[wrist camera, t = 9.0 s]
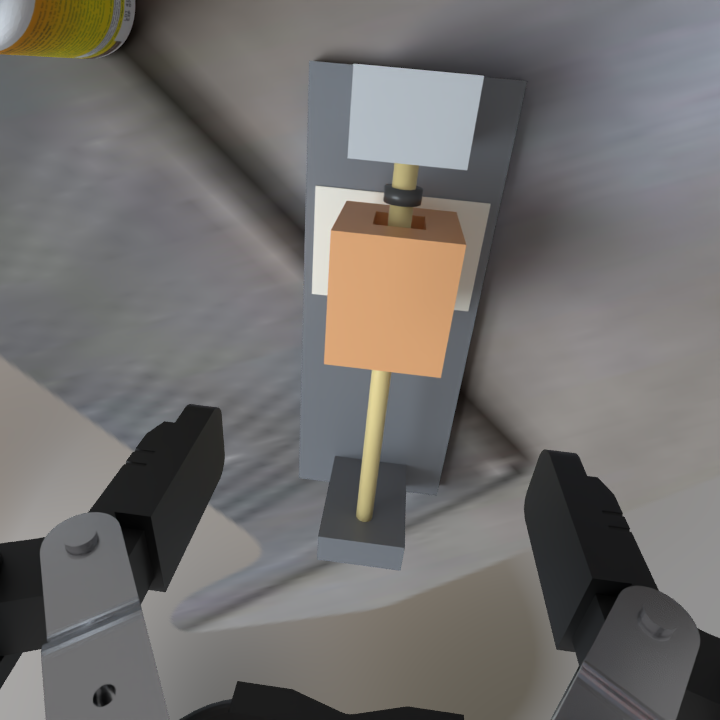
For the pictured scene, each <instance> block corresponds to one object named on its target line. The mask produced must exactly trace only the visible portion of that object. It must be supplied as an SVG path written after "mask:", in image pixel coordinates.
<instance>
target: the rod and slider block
mask: <svg viewBox="0 0 720 720" xmlns="http://www.w3.org/2000/svg"><path fill="white" fill-rule="evenodd" d="M526 85H527V81H522V80H511V79H500V78H489V77H484V76H481V75H471V74H460V73H449V72H439V71H428V70H417V69H406V68H396V67H385V66H374V65H363V64H353V65H350V64H339V63H329V62H318V61H309V93H308V133H307V173H306V214H305V254H304V294H303V334H302V374H301V415H300V455H299V478H304V479H311V480H319V481H327V482H329V487H328V492H327V497H326V501H325V506H324V511H323V516H322V521H321V525H320V530H319V535H318V549H317V559H318V560H326V561H333V562H340V563H348V564H355V565H363V566H370V567H377V568H385V569H392V570H401V565H402V559H403V554H404V549H405V506H406V492H413V493H421V494H428V495H436V496H437V492H438V487H439V482H440V478H441V473H442V469H443V464H444V460H445V455H446V450H447V446H448V441H449V437H450V432H451V428H452V423H453V419H454V414H455V409H456V405H457V400H458V396H459V391H460V387H461V382H462V377H463V373H464V368H465V364H466V359H467V355H468V350H469V345H470V341H471V336H472V332H473V327H474V323H475V318H476V313H477V309H478V304H479V300H480V295H481V291H482V286H483V281H484V277H485V272H486V268H487V263H488V259H489V254H490V250H491V245H492V240H493V236H494V231H495V227H496V222H497V218H498V213H499V208H500V204H501V199H502V195H503V190H504V186H505V181H506V176H507V172H508V167H509V163H510V158H511V154H512V149H513V144H514V140H515V135H516V131H517V126H518V122H519V117H520V113H521V108H522V103H523V99H524V94H525V90H526ZM346 201H356V202H365V203H375V204H384V205H390V208H389V217H388V226H393V227H403V228H411V222H412V215H413V208H423V209H432V210H442V211H451V212H457V216H458V219H459V222H460V225H461V229H462V232H463V235H464V239H465V242H466V250H465V255H464V260H463V265H462V271H461V276H460V281H459V286H458V291H457V296H456V302H455V307H454V312H453V317H452V322H451V328H450V333H449V338H448V343H447V348H446V353H445V359H444V364H443V369H442V374H441V378H436V377H428V376H420V375H411V374H403V373H394V372H386V371H377V370H369V369H361V368H352V367H344V366H335V365H327V364H324V353H325V334H326V314H327V295H328V275H329V255H330V236H331V229H332V227H333V225H334V223H335V222H336V220H337V218H338V216H339V214H340V212H341V210H342V208H343V207H344V205H345V203H346Z"/></svg>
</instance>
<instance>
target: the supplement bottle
mask: <svg viewBox="0 0 720 720" xmlns="http://www.w3.org/2000/svg"><path fill="white" fill-rule="evenodd" d="M134 16H135V0H0V54H8V55H28V56H44V57H64V58H84V59H92V58H100V57H104V56H107V55H109V54H111V53H113V52H114V51H116V50H117V49H118V48H119V47H120V46H121V45H122V44H123V43H124V42H125V40H126V39H127V37H128V35H129V33H130V31H131V28H132V25H133V21H134Z"/></svg>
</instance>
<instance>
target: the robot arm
mask: <svg viewBox="0 0 720 720" xmlns="http://www.w3.org/2000/svg"><path fill="white" fill-rule="evenodd" d="M224 459H225V452H224V439H223V426H222V414H221V410H220V408H217V407H209V406H201V405H193V404H189V405H187V406H186V407H185V409H184V410H183V412H182V413H181V415H180V416H179V418H178V419H177V421H176V422H175V423H173V422H163V423H162V424H160V425H159V426H157V427H156V428H154V429H153V430H151V431H150V432H148V433H147V434H146V435H145V437H144V438H143V439H142V441H141V442H140V443H139V445H138V446H137V447H136V450H135V452H133V453H132V454H131V455H130V457H129V458H128V459H127V461H126V464H124V465H123V466H122V468H121V469H120V470H119V472H118V473H117V474H116V476H115V477H114V478H113V480H112V481H111V482H110V484H109V485H108V486H107V488H106V489H105V491H104V492H103V493H102V495H101V496H100V497H99V499H98V500H97V501H96V503H95V504H94V505H93V507H92V508H91V509H90V511H89V512H88V513H83V514H80V515H76V516H74V517H71V518H69V519H67V520H65V521H63V522H62V523H60V524H58V525H57V526H56V527H55V528H53V529H52V530H51V531H50V533H48V535H47V536H46V537H43V538H38V539H31V540H24V541H16V542H8V543H1V544H0V688H1V687H2V685H3V684H4V682H5V680H6V679H7V677H8V676H9V674H10V672H11V670H12V669H13V667H14V666H15V664H16V662H17V661H18V659H19V658H20V656H21V654H22V653H23V652H28V651H33V650H38V649H41V661H42V674H43V687H44V701H45V714H46V720H170V718H169V714H168V710H167V707H166V703H165V699H164V695H163V691H162V687H161V683H160V679H159V675H158V671H157V667H156V663H155V659H154V655H153V652H152V647H151V643H150V640H149V636H148V632H147V628H146V624H145V620H144V616H143V612H142V609H141V603H142V601H143V599H144V597H145V595H146V593H147V591H148V590H154V591H161V592H166V590H167V588H168V586H169V584H170V582H171V579H172V577H173V575H174V573H175V571H176V569H177V567H178V565H179V563H180V561H181V558H182V556H183V555H184V552H185V550H186V548H187V546H188V544H189V542H190V540H191V538H192V536H193V534H194V532H195V530H196V527H197V525H198V523H199V521H200V519H201V517H202V515H203V513H204V511H205V508H206V507H207V505H208V502H209V500H210V498H211V496H212V494H213V492H214V490H215V488H216V486H217V484H218V482H219V480H220V477H221V474H222V471H223V466H224ZM524 514H525V521H526V525H527V530H528V534H529V538H530V542H531V546H532V550H533V554H534V558H535V563H536V567H537V571H538V575H539V579H540V583H541V587H542V591H543V595H544V600H545V604H546V608H547V612H548V616H549V620H550V624H551V629H552V633H553V637H554V641H555V645H556V649H557V650H564V651H571V652H576V656H577V659H578V663H579V667H578V669H577V671H576V672H575V674H574V676H573V678H572V680H571V682H570V684H569V686H568V687H567V689H566V691H565V693H564V695H563V697H562V699H561V701H560V703H559V704H558V706H557V708H556V710H555V712H554V714H553V716H552V718H551V720H720V638H718V637H715V636H713V635H710V634H708V633H706V632H704V631H702V630H700V629H698V628H697V627H696V624H695V622H694V621H693V619H692V618H691V616H690V615H689V614H688V613H687V611H686V610H685V609H684V608H683V607H682V606H681V605H680V604H678V603H677V602H676V601H675V600H673V599H672V598H670V597H669V596H667V595H666V594H664V593H662V592H660V591H659V590H658V588H657V586H656V584H655V582H654V579H653V578H652V575H651V573H650V571H649V569H648V567H647V565H646V562H645V560H644V558H643V556H642V554H641V552H640V549H639V547H638V545H637V543H636V541H635V539H634V536H633V535H632V533H631V532H630V531H629V529H630V528H629V526H628V524H627V522H626V519H625V517H623V516H622V514H623V513H622V511H621V509H620V506H619V504H618V502H617V500H616V498H615V496H614V494H613V493H612V492H611V491H610V490H609V489H608V488H607V487H606V486H605V485H604V484H603V482H602V481H601V480H600V479H599V478H598V477H590V476H587V475H586V472H585V470H584V467H583V465H582V463H581V460H580V458H579V456H578V455H577V454H576V453H569V452H561V451H553V450H543V451H542V452H541V454H540V456H539V459H538V462H537V465H536V467H535V470H534V473H533V476H532V479H531V482H530V485H529V487H528V490H527V493H526V497H525V504H524ZM180 720H464V715H461V714H454V713H448V712H441V711H434V710H427V709H420V708H414V707H400V708H393V709H387V710H380V711H373V712H366V713H359V714H345V713H342V712H339V711H338V710H335V709H333V708H331V707H329V706H327V705H325V704H322V703H320V702H318V701H316V700H314V699H312V698H310V697H307V696H305V695H303V694H301V693H299V692H297V691H295V690H293V689H287V688H280V687H273V686H266V685H260V684H253V683H246V682H240V681H238V682H237V685H236V688H235V691H234V695H233V698H232V699H230V700H224V701H220V702H216V703H213V704H210V705H207V706H205V707H202V708H200V709H198V710H195V711H193V712H192V713H190V714H188V715H186V716H184V717H183V718H181V719H180Z"/></svg>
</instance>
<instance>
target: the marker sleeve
mask: <svg viewBox="0 0 720 720" xmlns="http://www.w3.org/2000/svg"><path fill="white" fill-rule="evenodd" d="M389 208H390V205H384V204H375V203H365V202H356V201H346V203H345V205H344V207H343V208H342V210H341V212H340V214H339V216H338V218H337V220H336V222H335V223H334V225H333V227H332V229H331V236H330V255H329V275H328V295H327V314H326V334H325V353H324V364H327V365H335V366H344V367H352V368H361V369H369V370H377V371H386V372H394V373H403V374H411V375H420V376H428V377H436V378H441V374H442V369H443V364H444V359H445V353H446V348H447V343H448V338H449V333H450V328H451V322H452V317H453V312H454V307H455V302H456V296H457V291H458V286H459V281H460V276H461V271H462V265H463V260H464V255H465V250H466V242H465V239H464V235H463V232H462V229H461V225H460V222H459V219H458V216H457V212H451V211H442V210H432V209H423V208H413V215H412V222H411V228H403V227H393V226H388V217H389Z"/></svg>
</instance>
